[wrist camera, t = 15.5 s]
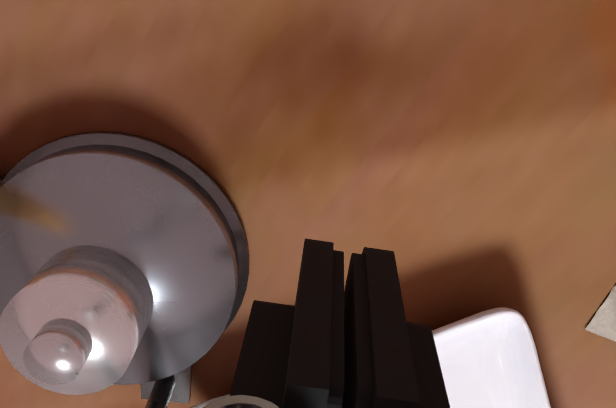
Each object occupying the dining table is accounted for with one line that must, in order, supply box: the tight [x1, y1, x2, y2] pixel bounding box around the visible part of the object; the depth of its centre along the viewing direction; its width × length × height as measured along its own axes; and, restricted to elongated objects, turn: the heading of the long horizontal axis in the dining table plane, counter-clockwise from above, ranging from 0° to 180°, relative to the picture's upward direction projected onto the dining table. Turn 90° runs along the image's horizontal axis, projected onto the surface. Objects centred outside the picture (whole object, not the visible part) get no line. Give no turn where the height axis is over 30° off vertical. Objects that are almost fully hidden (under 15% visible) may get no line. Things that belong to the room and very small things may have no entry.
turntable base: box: [3, 132, 249, 332], centre depth 33 cm, size 15×15×1 cm
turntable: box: [0, 144, 239, 385], centre depth 30 cm, size 18×14×6 cm
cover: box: [0, 245, 154, 395], centre depth 29 cm, size 6×6×6 cm
